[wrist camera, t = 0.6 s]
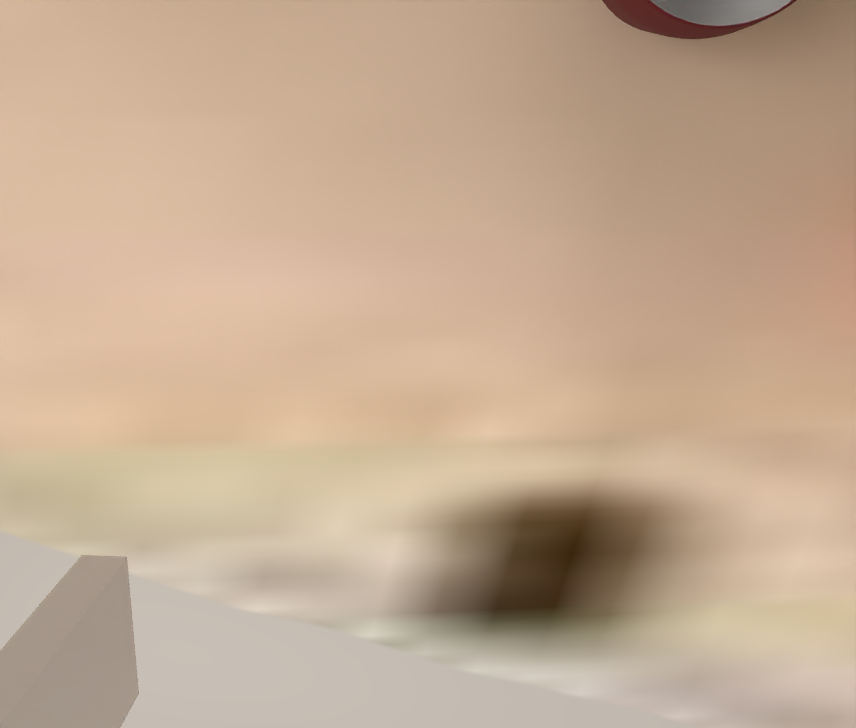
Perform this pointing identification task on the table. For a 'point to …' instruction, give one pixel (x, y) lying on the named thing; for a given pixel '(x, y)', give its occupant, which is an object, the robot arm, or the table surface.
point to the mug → (694, 15)
